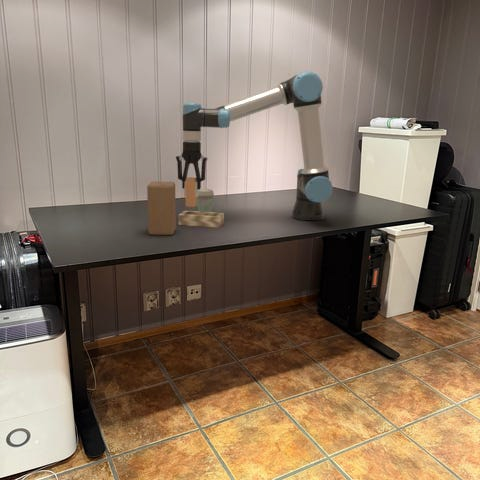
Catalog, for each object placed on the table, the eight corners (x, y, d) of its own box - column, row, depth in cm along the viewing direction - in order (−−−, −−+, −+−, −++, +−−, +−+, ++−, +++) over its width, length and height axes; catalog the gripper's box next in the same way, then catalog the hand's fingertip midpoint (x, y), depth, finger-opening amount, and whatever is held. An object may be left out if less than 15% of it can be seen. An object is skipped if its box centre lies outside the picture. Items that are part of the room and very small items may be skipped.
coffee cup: (197, 217, 217) (197, 191, 214) (194, 213, 225) (194, 188, 222) (215, 216, 219) (215, 191, 216) (211, 213, 227) (211, 188, 224)
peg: (197, 205, 205) (197, 177, 202) (194, 206, 201) (194, 179, 198) (188, 204, 206) (188, 177, 202) (185, 206, 202) (185, 178, 199)
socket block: (223, 222, 208) (223, 213, 206) (219, 227, 199) (219, 217, 198) (184, 220, 211) (184, 210, 209) (178, 224, 202) (178, 214, 201)
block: (176, 229, 194) (175, 181, 189) (173, 235, 185) (172, 185, 179) (151, 229, 194) (150, 181, 189) (148, 235, 184) (146, 184, 179)
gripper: (213, 141, 198) (212, 196, 204) (174, 140, 201) (175, 193, 207) (209, 142, 191) (208, 199, 197) (169, 140, 194) (169, 196, 200)
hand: (191, 196), depth 202 cm, fingers closed on peg, 4 cm apart
